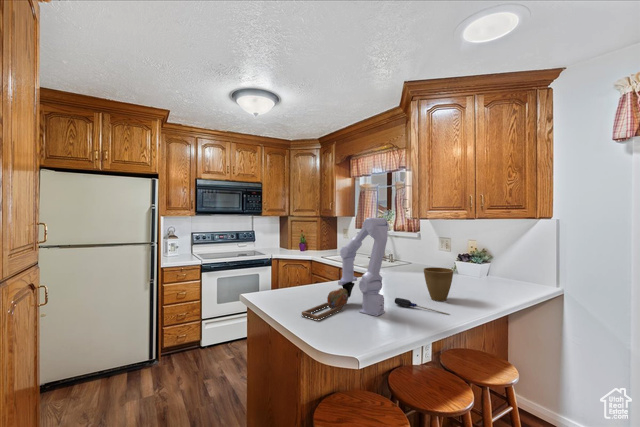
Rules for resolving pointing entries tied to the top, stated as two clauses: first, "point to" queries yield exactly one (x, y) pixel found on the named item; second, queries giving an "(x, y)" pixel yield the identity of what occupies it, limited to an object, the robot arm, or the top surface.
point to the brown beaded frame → (308, 313)
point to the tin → (337, 298)
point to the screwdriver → (412, 304)
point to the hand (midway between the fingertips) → (347, 296)
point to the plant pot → (438, 282)
